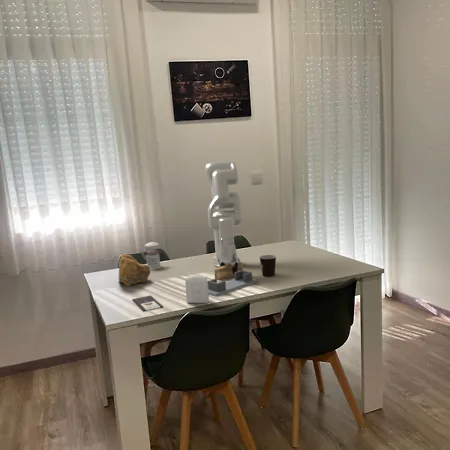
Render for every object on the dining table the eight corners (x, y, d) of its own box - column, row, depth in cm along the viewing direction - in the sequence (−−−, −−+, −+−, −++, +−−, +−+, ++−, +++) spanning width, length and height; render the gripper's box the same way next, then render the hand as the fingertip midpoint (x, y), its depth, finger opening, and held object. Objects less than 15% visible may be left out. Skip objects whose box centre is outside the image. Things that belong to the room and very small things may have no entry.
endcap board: (202, 292, 220) (201, 281, 219) (243, 278, 238) (243, 268, 237) (215, 296, 212) (215, 285, 212) (257, 281, 231) (257, 271, 230)
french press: (157, 269, 266) (153, 227, 262) (139, 269, 270) (135, 227, 265) (164, 265, 275) (161, 224, 271) (147, 264, 279) (143, 224, 275)
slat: (215, 279, 240) (214, 268, 239) (238, 271, 252) (237, 261, 251) (219, 280, 238) (218, 269, 237) (242, 272, 250) (242, 261, 249)
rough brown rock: (151, 288, 235) (151, 259, 233) (118, 289, 231) (117, 260, 229) (148, 277, 257) (148, 251, 255) (118, 278, 253) (118, 252, 252)
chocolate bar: (150, 295, 218) (162, 306, 203) (150, 297, 219) (163, 308, 203) (132, 299, 215) (143, 310, 199) (132, 301, 215) (143, 312, 199)
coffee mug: (276, 277, 236) (275, 258, 234) (259, 277, 238) (258, 259, 236) (278, 271, 247) (277, 253, 245) (262, 271, 249) (261, 253, 247)
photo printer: (209, 300, 208) (208, 274, 206) (208, 303, 204) (206, 276, 202) (187, 300, 210) (185, 274, 207) (185, 303, 205) (183, 277, 203)
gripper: (210, 240, 245) (213, 271, 248) (233, 244, 233) (235, 276, 235) (221, 238, 250) (223, 268, 253) (243, 241, 238) (245, 273, 240)
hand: (228, 272), depth 244 cm, fingers open, 9 cm apart
